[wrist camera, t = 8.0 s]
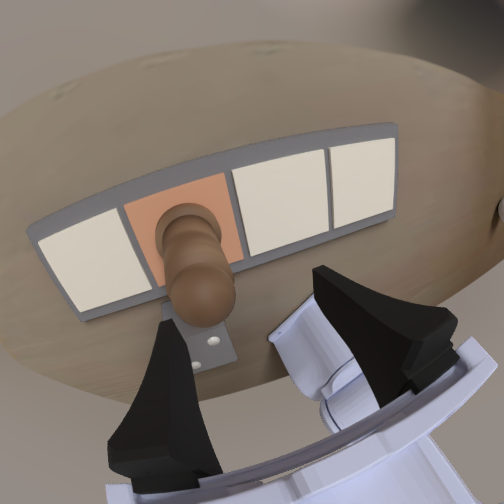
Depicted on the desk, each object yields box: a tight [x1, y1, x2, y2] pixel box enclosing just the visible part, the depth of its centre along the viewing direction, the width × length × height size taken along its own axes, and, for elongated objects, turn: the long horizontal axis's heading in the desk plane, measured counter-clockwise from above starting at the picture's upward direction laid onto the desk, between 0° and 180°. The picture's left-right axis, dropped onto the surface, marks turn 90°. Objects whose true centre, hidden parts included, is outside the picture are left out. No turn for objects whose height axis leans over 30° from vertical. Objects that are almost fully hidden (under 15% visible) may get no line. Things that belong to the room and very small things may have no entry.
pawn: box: [155, 203, 236, 328], centre depth 16 cm, size 5×5×9 cm
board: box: [25, 123, 398, 322], centre depth 21 cm, size 33×10×1 cm, turn 101°
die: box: [161, 301, 238, 374], centre depth 24 cm, size 5×5×5 cm
